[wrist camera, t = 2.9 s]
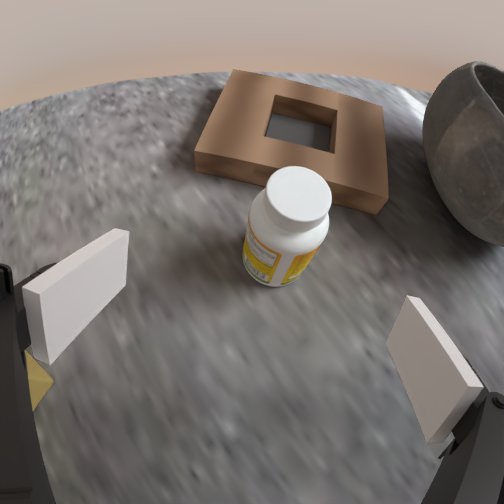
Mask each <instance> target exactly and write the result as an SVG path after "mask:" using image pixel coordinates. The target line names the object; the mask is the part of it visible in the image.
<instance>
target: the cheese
mask: <svg viewBox="0 0 504 504" xmlns="http://www.w3.org/2000/svg"><path fill="white" fill-rule="evenodd" d="M25 355H26V361H27V371H28V381H29V389H30V396H31V403H32V409H33V411H34V410H35V408H36V407H37V405H38V404H39V402H40V401H41V399H42V398H43V397H44V395H45V394H46V392H47V391H48V390H49V388H50V387H51V385H52V384H53V382H54V381H53V379H52V378H51V377H50V376H49V375H48V374H47V373H46V372H45V370H44V369H43V368H42V367H41V366H40V365H39V364H38V363H37V362H36V361H35V360H34V359H33V357H32V356H31V355H30V354H29V353H28V352H27V351H26V350H25Z"/></svg>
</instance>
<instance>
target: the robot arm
mask: <svg viewBox="0 0 504 504" xmlns="http://www.w3.org/2000/svg"><path fill="white" fill-rule="evenodd" d="M128 242H129V231H125V230H121V229H117V228H114V229H113V230H111V231H109V232H108V233H106V234H104V235H102V236H101V237H99V238H97V239H96V240H94V241H92V242H91V243H89V244H88V245H86V246H84V247H83V248H81V249H79V250H78V251H76V252H75V253H73V254H71V255H70V256H68V257H67V258H65V259H64V260H62V261H60V262H59V263H53V264H50V265H47V266H44V267H43V268H41V269H39V270H38V271H37V272H36V273H33V274H32V275H30V277H27V278H26V279H24V280H23V281H21V282H20V283H18V284H17V285H15V286H14V287H13V278H12V270H11V268H10V267H9V266H8V265H5V264H0V504H56V502H55V499H54V496H53V493H52V490H51V487H50V484H49V480H48V477H47V473H46V469H45V466H44V462H43V458H42V454H41V450H40V445H39V441H38V436H37V431H36V426H35V421H34V415H33V409H32V403H31V396H30V389H29V381H28V371H27V361H26V355H25V349H26V348H27V347H28V346H29V345H30V344H31V348H32V352H33V357H34V358H36V359H38V360H40V361H42V362H44V363H46V364H48V365H51V364H52V363H53V362H54V361H55V360H56V359H57V357H58V356H59V355H60V354H61V353H62V352H63V351H64V350H65V349H66V347H67V346H68V345H69V344H70V343H71V342H72V341H73V340H74V339H75V338H76V337H77V335H78V334H79V333H80V332H81V331H82V330H83V329H84V328H85V327H86V326H87V325H88V324H89V323H90V322H91V320H92V319H93V318H94V317H95V316H96V315H97V314H98V313H99V312H100V311H101V310H102V309H103V308H104V307H105V306H106V305H107V304H108V303H109V302H110V301H111V300H112V299H113V298H114V297H115V295H116V294H117V293H118V292H119V291H120V290H121V289H122V288H123V287H124V286H125V285H126V270H127V255H128ZM385 344H386V346H387V348H388V350H389V353H390V355H391V357H392V359H393V362H394V364H395V366H396V368H397V371H398V373H399V375H400V378H401V380H402V382H403V385H404V387H405V389H406V392H407V394H408V397H409V399H410V401H411V404H412V406H413V409H414V411H415V414H416V416H417V419H418V421H419V424H420V427H421V429H422V432H423V434H424V437H425V440H426V442H427V443H442V442H443V441H444V440H445V439H446V438H447V436H448V435H449V434H450V433H451V431H452V433H453V435H454V437H455V439H454V440H453V441H452V442H451V443H450V444H449V446H448V447H447V448H446V449H445V450H444V451H443V453H442V454H441V455H440V456H439V457H438V458H439V459H441V458H442V457H443V456H444V458H443V460H442V463H441V465H440V467H439V469H438V471H437V473H436V475H435V477H434V480H433V482H432V484H431V486H430V488H429V489H428V491H427V493H426V495H425V497H424V499H423V501H422V503H421V504H504V396H503V395H502V394H499V393H497V392H489V391H488V389H487V388H486V386H485V385H484V383H483V382H482V380H481V379H480V377H479V376H478V375H476V372H475V370H474V369H473V368H472V366H471V364H470V363H469V361H468V360H467V359H466V358H465V357H464V356H463V355H462V354H461V353H460V351H459V350H458V349H457V347H456V346H455V344H454V343H453V342H452V340H451V339H450V337H449V336H448V335H447V333H446V332H445V331H444V329H443V328H442V327H441V325H440V324H439V323H438V321H437V320H436V319H435V317H434V316H433V315H432V313H431V312H430V311H429V310H428V308H427V307H426V306H425V304H424V303H423V302H422V301H421V299H420V298H417V297H412V296H408V295H406V298H405V300H404V303H403V305H402V307H401V310H400V312H399V314H398V317H397V319H396V321H395V323H394V326H393V328H392V330H391V332H390V334H389V336H388V339H387V341H386V343H385Z"/></svg>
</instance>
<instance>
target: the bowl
mask: <svg viewBox="0 0 504 504" xmlns="http://www.w3.org/2000/svg"><path fill="white" fill-rule="evenodd" d="M423 144H424V151H425V156H426V160H427V164H428V168H429V171H430V174H431V177H432V180H433V183H434V185H435V187H436V189H437V191H438V193H439V195H440V197H441V199H442V201H443V202H444V204H445V205H446V207H447V208H448V210H449V211H450V212H451V214H452V215H453V216H454V217H455V218H456V220H457V221H458V222H459V223H460V224H461V225H462V226H463V227H465V228H466V229H467V230H468V231H469V232H471V233H472V234H473V235H475V236H477V237H478V238H480V239H482V240H484V241H487V242H489V243H491V244H494V245H498V246H502V247H504V71H502V70H500V69H498V68H496V67H494V66H492V65H490V64H487V63H484V62H471V63H467V64H465V65H463V66H461V67H459V68H457V69H455V70H454V71H452V72H451V73H450V74H449V75H447V76H446V77H445V78H444V79H443V80H442V81H441V83H440V84H439V85H438V87H437V88H436V90H435V92H434V93H433V95H432V97H431V98H430V100H429V102H428V105H427V107H426V110H425V115H424V120H423Z"/></svg>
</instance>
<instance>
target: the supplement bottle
mask: <svg viewBox="0 0 504 504" xmlns="http://www.w3.org/2000/svg"><path fill="white" fill-rule="evenodd" d="M331 202H332V195H331V191H330V188H329V186H328V184H327V183H326V181H325V180H324V179H323V178H322V177H321V176H320V175H319V174H317V173H316V172H314V171H312V170H310V169H307V168H304V167H299V166H289V167H284V168H282V169H279V170H277V171H276V172H274V173H273V174H272V175H271V177H270V178H269V180H268V182H267V184H266V188H265V189H263V190H262V191H261V192H260V193H259V194H258V195H257V196H256V197H255V199H254V200H253V202H252V205H251V208H250V212H249V218H248V223H247V229H246V235H245V241H244V246H243V262H244V265H245V268H246V269H247V271H248V273H249V274H250V275H251V276H252V277H253V278H254V279H255V280H256V281H258V282H260V283H262V284H264V285H268V286H273V287H278V286H285V285H288V284H290V283H291V282H293V281H295V280H296V279H297V278H298V277H299V276H300V275H301V274H302V272H303V271H304V269H305V268H306V266H307V265H308V263H309V262H310V260H311V259H312V257H313V256H314V254H315V252H316V251H317V249H318V248H319V246H320V245H321V243H322V242H323V240H324V238H325V236H326V234H327V232H328V228H329V216H328V211H329V209H330V206H331Z"/></svg>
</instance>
